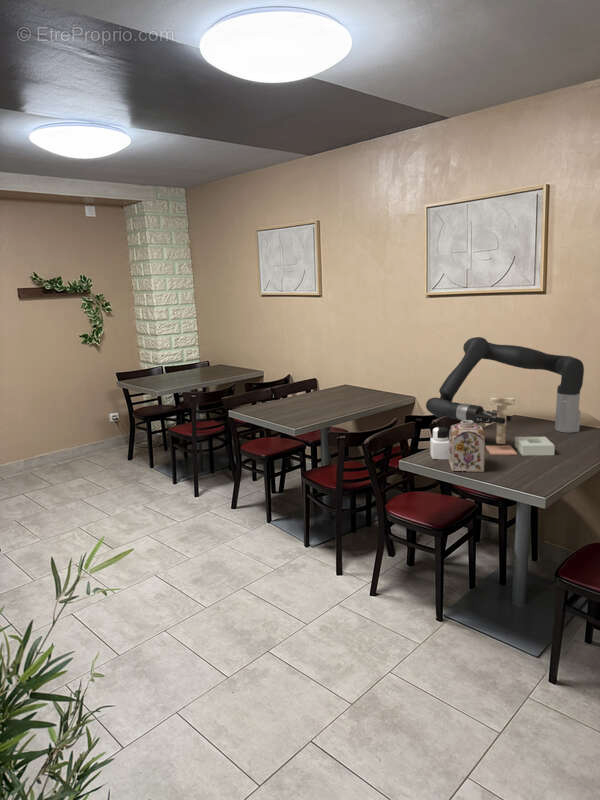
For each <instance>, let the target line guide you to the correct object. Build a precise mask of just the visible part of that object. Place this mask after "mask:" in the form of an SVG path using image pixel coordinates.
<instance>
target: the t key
mask: <svg viewBox="0 0 600 800" xmlns="http://www.w3.org/2000/svg"><path fill="white" fill-rule="evenodd" d="M515 403H516V398H515V397H490V398H489V404H490V405H491V406H497V409H496V411H497V417H500V418H505V419H506V415H508V413H507V409H508V406H515ZM495 430H496V431H495V443H496V444H497V445H499V444H502V445H505V444H506V434H507V433H506V432H507V421H505V424H501V423H496V429H495Z"/></svg>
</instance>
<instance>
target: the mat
mask: <svg viewBox="0 0 600 800" xmlns="http://www.w3.org/2000/svg"><path fill="white" fill-rule="evenodd" d="M485 449H486V450H487V452H488V453H489V455H491V456H493V455H494V456H495V455H496V456H498V455H499V456H500V455H501V456H506V455H507V456H509V455H517V452H516V450H515V449H514V448H513V447H512V445H485Z"/></svg>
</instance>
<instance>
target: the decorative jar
mask: <svg viewBox="0 0 600 800" xmlns="http://www.w3.org/2000/svg"><path fill="white" fill-rule="evenodd" d="M448 438H449V459H448V463H449V465H450V468H451V471H452V472H453V471H462V472H463V471H466V472H467V473H469V472H470V473H484V472H485V449H486V444H485V440H486V438H485V432H484V428H483V426H482V425H480V424H476V423H473V421H471V420H463V421H462V420H460V422H459V423H455V424H452V425H451V426H450V428H449V429H448ZM466 472H465V473H466ZM463 473H464V472H463Z"/></svg>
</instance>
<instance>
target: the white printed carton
mask: <svg viewBox="0 0 600 800" xmlns="http://www.w3.org/2000/svg"><path fill="white" fill-rule="evenodd" d="M429 446H430V449H429V450H430V451H429V454H430V456H431V459H432V460H433V459H438V460H449V429H448V428H447V427H445V426H436V427H434V428H433V429H432V437H430V445H429Z"/></svg>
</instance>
